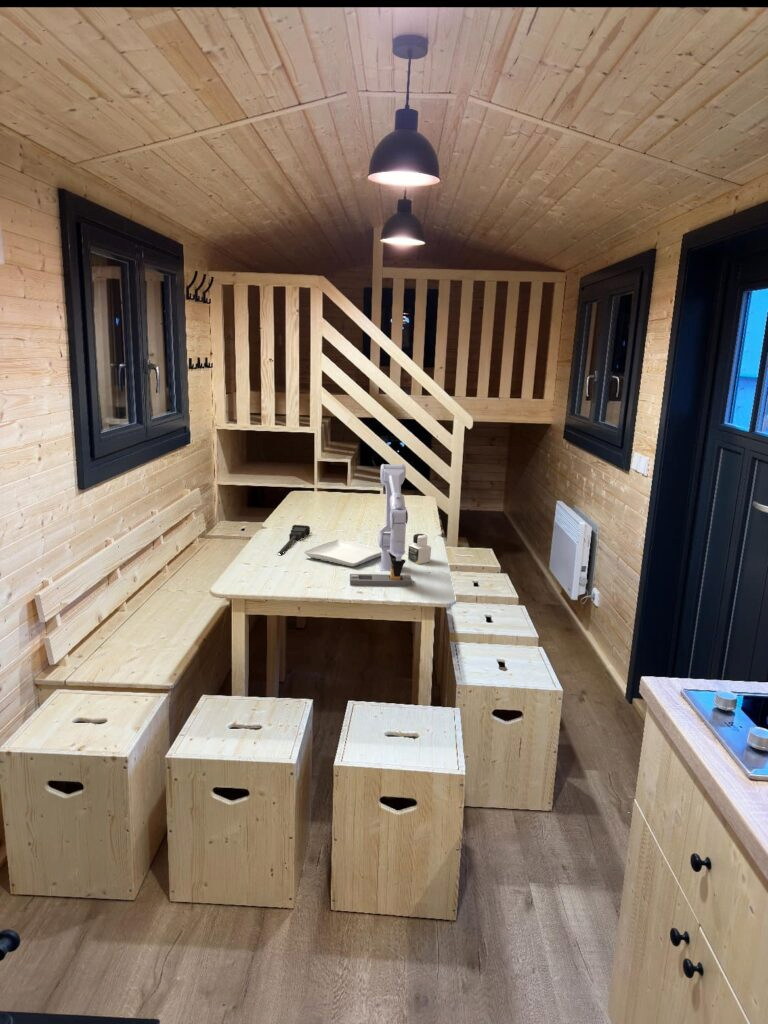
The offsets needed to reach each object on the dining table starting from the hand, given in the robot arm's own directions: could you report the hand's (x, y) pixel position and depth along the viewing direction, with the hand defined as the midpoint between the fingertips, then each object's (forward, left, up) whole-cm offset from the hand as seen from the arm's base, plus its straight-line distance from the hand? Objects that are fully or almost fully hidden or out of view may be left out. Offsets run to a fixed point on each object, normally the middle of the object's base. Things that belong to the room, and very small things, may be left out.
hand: (396, 573), depth 278 cm
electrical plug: (-56, -43, -5) cm, 71 cm away
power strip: (0, -6, -4) cm, 7 cm away
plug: (0, 0, -4) cm, 4 cm away
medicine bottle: (-31, +13, -5) cm, 34 cm away
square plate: (-35, -19, -5) cm, 40 cm away
